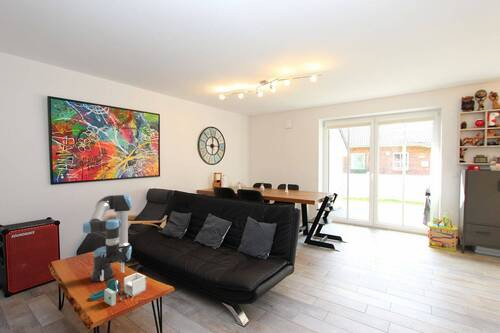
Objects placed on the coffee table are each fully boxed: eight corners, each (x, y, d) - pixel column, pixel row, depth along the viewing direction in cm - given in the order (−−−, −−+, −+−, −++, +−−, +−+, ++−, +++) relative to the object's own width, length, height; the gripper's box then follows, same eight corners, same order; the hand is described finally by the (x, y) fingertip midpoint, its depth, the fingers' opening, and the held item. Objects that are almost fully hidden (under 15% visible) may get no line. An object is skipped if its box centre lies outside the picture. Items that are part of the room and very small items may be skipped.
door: (102, 302, 160) (102, 290, 160) (108, 299, 163) (108, 288, 163) (110, 306, 155) (110, 294, 155) (115, 304, 158) (115, 292, 158)
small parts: (112, 296, 167) (112, 281, 167) (119, 292, 171) (119, 278, 171) (121, 301, 161) (121, 286, 161) (128, 297, 165) (128, 283, 165)
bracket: (116, 287, 179) (116, 277, 179) (120, 290, 175) (120, 279, 174) (88, 298, 165) (88, 287, 164) (92, 302, 160) (92, 290, 160)
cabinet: (124, 291, 173) (123, 277, 173) (137, 285, 181) (137, 272, 181) (133, 296, 167) (132, 282, 167) (146, 290, 175) (146, 276, 175)
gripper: (95, 250, 147) (95, 285, 147) (133, 239, 168) (133, 270, 169) (88, 248, 151) (89, 282, 151) (127, 237, 172) (127, 267, 173)
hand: (112, 276), depth 160 cm, fingers open, 13 cm apart
